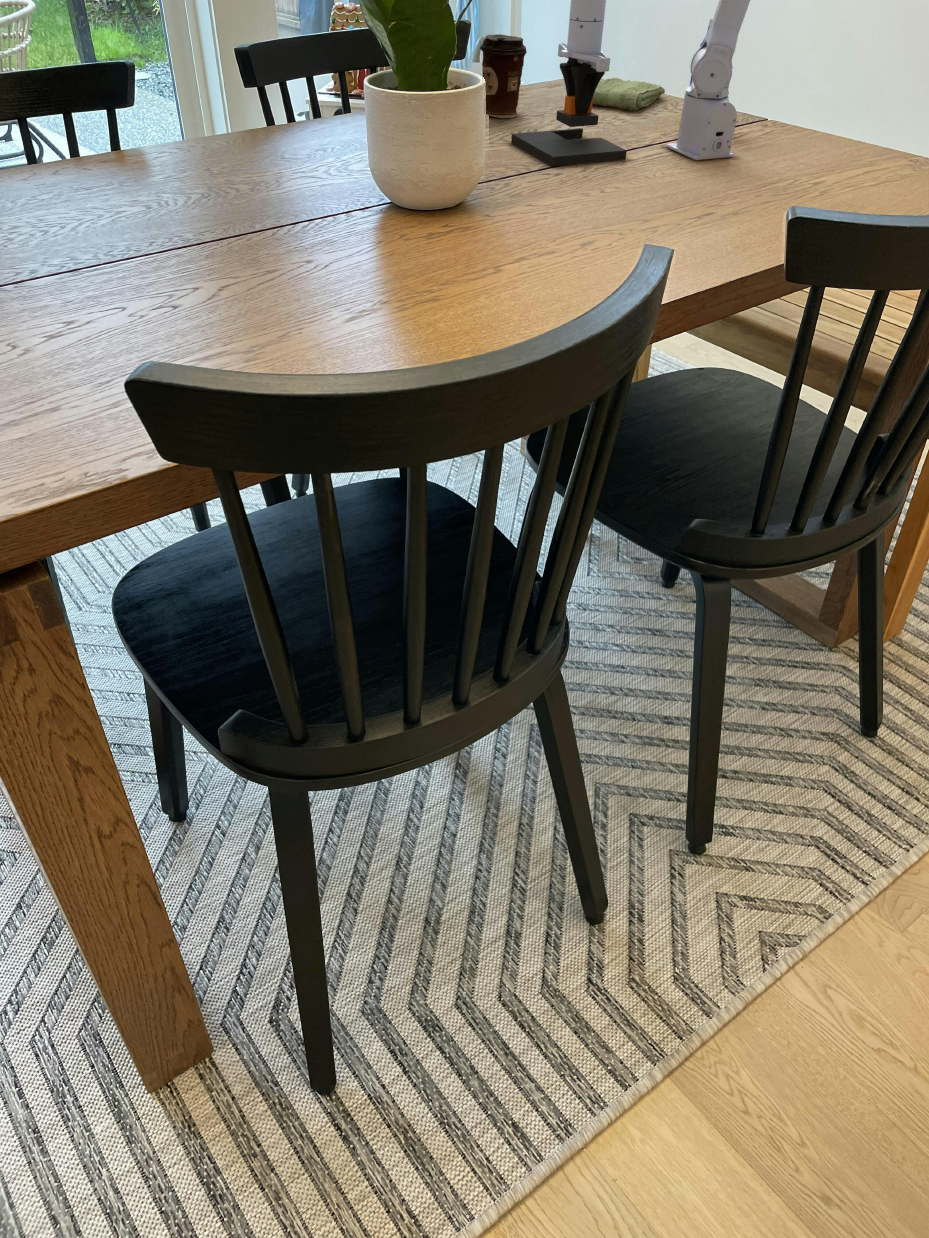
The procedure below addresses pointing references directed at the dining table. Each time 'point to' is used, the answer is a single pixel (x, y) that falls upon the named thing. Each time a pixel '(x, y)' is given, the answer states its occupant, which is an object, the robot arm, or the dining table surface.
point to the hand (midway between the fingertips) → (578, 111)
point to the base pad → (567, 147)
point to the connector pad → (575, 115)
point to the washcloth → (626, 93)
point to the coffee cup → (502, 73)
